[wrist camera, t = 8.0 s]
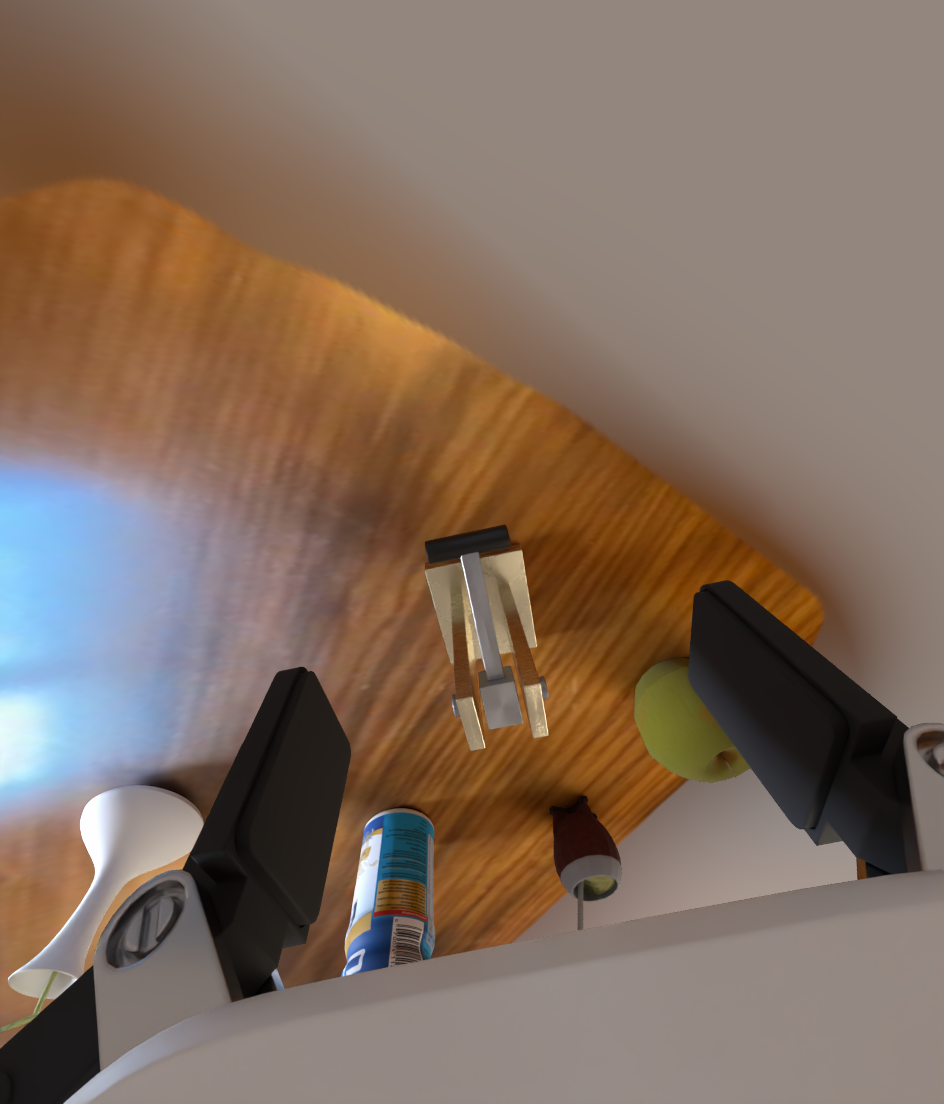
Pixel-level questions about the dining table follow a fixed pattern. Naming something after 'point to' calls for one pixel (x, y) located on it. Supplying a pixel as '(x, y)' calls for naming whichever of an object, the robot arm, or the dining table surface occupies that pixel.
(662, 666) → the apple
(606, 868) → the mate gourd
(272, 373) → the dining table surface
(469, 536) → the lever
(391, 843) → the beverage bottle
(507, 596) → the bracket
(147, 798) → the flower in vase
